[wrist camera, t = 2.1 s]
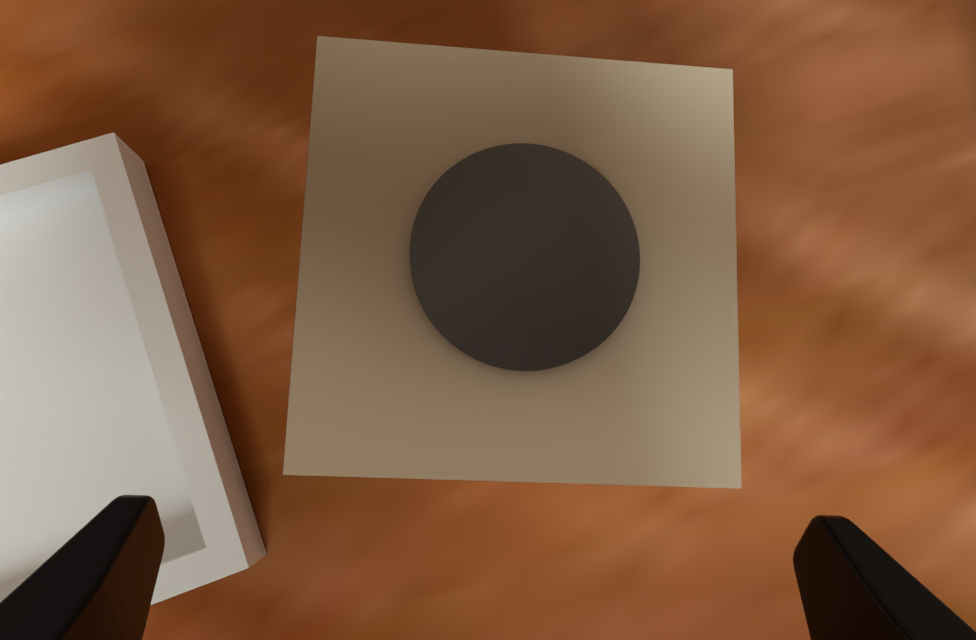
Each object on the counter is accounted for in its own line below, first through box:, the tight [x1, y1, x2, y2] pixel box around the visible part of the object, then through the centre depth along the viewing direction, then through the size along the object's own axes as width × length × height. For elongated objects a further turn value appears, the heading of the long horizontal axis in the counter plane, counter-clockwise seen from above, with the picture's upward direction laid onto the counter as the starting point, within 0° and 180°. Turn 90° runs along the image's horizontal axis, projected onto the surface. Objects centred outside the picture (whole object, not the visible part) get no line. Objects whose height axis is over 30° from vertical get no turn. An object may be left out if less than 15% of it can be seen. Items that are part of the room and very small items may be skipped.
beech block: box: [283, 36, 741, 488], centre depth 14 cm, size 5×5×13 cm
